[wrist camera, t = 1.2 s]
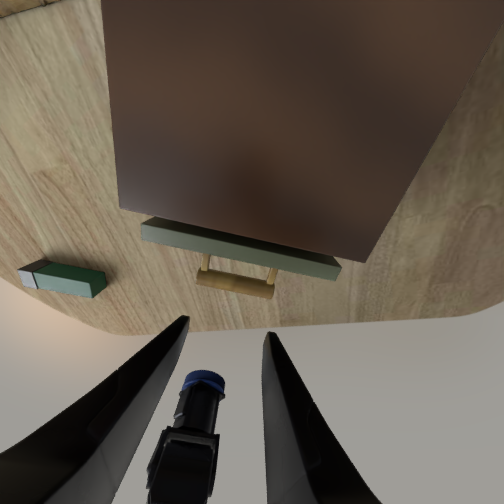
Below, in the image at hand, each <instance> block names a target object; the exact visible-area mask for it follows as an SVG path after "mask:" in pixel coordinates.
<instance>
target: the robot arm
mask: <svg viewBox="0 0 504 504" xmlns="http://www.w3.org/2000/svg"><path fill="white" fill-rule="evenodd" d="M189 322H190V317H189V316H185V315H182V316H180V317H179V318H178V319H177V320H175V321H174V322H173V323H172V324H171V325H169V326H168V327H167V328H166V329H165V330H163V331H162V332H161V333H160V334H159V335H157V336H156V337H155V338H154V339H153V340H151V341H150V342H149V343H148V344H147V345H145V347H143V348H142V349H141V350H140V351H138V352H137V353H136V354H135V355H134V356H132V357H131V358H130V359H129V360H128V361H126V362H125V363H124V364H123V365H122V366H120V367H119V368H118V370H116V371H114V372H113V373H112V374H111V375H110V376H108V377H107V378H106V379H105V380H104V381H102V382H101V383H100V384H99V385H97V386H96V387H95V388H93V389H92V390H91V391H89V392H88V393H87V394H85V395H84V396H83V397H81V398H80V399H79V400H77V401H76V402H75V403H73V404H72V405H70V406H69V407H68V408H66V409H65V410H64V411H62V412H61V413H59V414H58V415H57V416H55V417H54V418H53V419H51V420H50V421H48V422H47V423H45V424H44V425H43V426H41V427H40V428H39V429H37V430H36V431H34V432H33V433H32V434H30V435H29V436H28V437H26V438H25V439H23V440H22V441H20V442H18V443H17V444H15V445H14V446H12V447H10V448H9V449H7V450H5V451H4V452H2V453H0V504H111V503H112V501H113V499H114V497H115V493H116V492H117V490H118V488H119V486H120V484H121V482H122V479H123V477H124V475H125V473H126V471H127V469H128V467H129V465H130V462H131V460H132V458H133V456H134V454H135V451H136V450H137V447H138V445H139V443H140V441H141V439H142V437H143V435H144V433H145V430H146V428H147V426H148V424H149V422H150V420H151V418H152V415H153V413H154V411H155V409H156V407H157V405H158V403H159V401H160V398H161V396H162V394H163V392H164V390H165V388H166V385H167V383H168V381H169V379H170V377H171V375H172V372H173V371H174V368H175V366H176V364H177V362H178V359H179V356H180V353H181V350H182V347H183V345H184V342H185V339H186V336H187V333H188V330H189ZM179 395H180V399H179V402H178V405H177V408H176V411H175V414H174V419H175V422H174V425H173V427H171V426H167V428H166V429H165V430H162V433H161V436H160V439H159V441H158V444H157V446H156V448H155V451H154V453H153V455H152V458H151V460H150V462H149V464H148V467H147V473H148V479H147V480H148V482H147V486H146V489H150V490H149V494H148V498H147V502H146V504H207V499H208V497H211V495H212V491H213V487H214V481H215V475H216V467H217V458H218V448H219V438H220V434H214V430H215V424H216V418H217V412H218V406H219V401H220V400H222V399H224V398H225V394H224V393H222V392H220V391H219V390H217V389H215V388H214V387H212V386H210V385H209V384H207V383H205V382H204V381H202V380H199V381H197V382H195V383H194V384H192V385H190V386H189V387H187V388H185V389H184V390H182V391H180V393H179ZM262 396H263V398H262V399H263V420H264V440H265V463H266V484H267V504H382V503H381V502H380V501H379V500H378V498H377V497H376V496H375V495H374V494H373V492H372V491H371V490H370V488H369V487H368V486H367V484H366V483H365V481H364V480H363V478H362V477H361V475H360V474H359V472H358V471H357V469H356V468H355V466H354V465H353V463H352V462H351V461H350V459H349V458H348V456H347V454H346V453H345V451H344V450H343V448H342V447H341V445H340V444H339V442H338V441H337V439H336V438H335V436H334V434H333V433H332V431H331V430H330V428H329V427H328V425H327V423H326V421H325V420H324V418H323V416H322V414H321V413H320V411H319V409H318V407H317V406H316V404H315V402H313V399H312V397H311V395H310V393H309V391H308V390H307V388H306V386H305V384H304V382H303V381H302V379H301V377H300V375H299V374H298V372H297V370H296V368H295V367H294V365H293V363H292V361H291V359H290V357H289V356H288V354H287V352H286V350H285V349H284V347H283V345H282V343H281V342H280V340H279V338H278V336H277V334H276V333H275V332H270V331H269V332H268V333H267V335H266V337H265V340H264V344H263V359H262Z"/></svg>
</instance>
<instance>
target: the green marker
mask: <svg viewBox="0 0 504 504" xmlns="http://www.w3.org/2000/svg"><path fill="white" fill-rule="evenodd" d="M17 270H18V273H19V275H20V278H21V281H22V283H23V286H24V287H29V288H35V289H38V288H40V289H45V290H50V291H56V292H61V293H66V294H72V295H77V296H82V297H88V298H94V297H95V296H96V295H97V294H98V293H100V292H101V291H102V290H103V289H105V288H106V287H107V286H106V280H105V273H104V272H99V271H94V270H89V269H84V268H79V267H74V266H69V265H64V264H59V263H53V262H50V261H45V260H38V261H36V262H33V263H31V264H29V265H26V266H24V267H22V268H20V269H17Z"/></svg>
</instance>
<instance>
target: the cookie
mask: <svg viewBox="0 0 504 504" xmlns="http://www.w3.org/2000/svg"><path fill="white" fill-rule="evenodd" d="M53 1H59V0H0V17H3V16H7V15H9V14H11V13H15V12H17V13H19V12H20V11H22V10H27V9H30V8H34V7H37V6H40V5H42V6H46V5H47V4H48V3H51V2H53Z"/></svg>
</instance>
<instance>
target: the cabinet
mask: <svg viewBox="0 0 504 504" xmlns="http://www.w3.org/2000/svg"><path fill="white" fill-rule="evenodd" d="M101 9H102V20H103V31H104V42H105V53H106V64H107V75H108V86H109V97H110V108H111V119H112V130H113V141H114V152H115V163H116V174H117V185H118V196H119V207H120V208H121V209H125V210H129V211H134V212H138V213H143V214H147V215H152V216H156V217H160V218H165V219H169V220H174V221H178V222H183V223H187V224H192V225H196V226H201V227H205V228H210V229H214V230H219V231H223V232H227V233H232V234H236V235H241V236H245V237H250V238H254V239H259V240H263V241H268V242H272V243H277V244H281V245H286V246H290V247H294V248H299V249H303V250H308V251H312V252H317V253H321V254H326V255H330V256H335V257H339V258H344V259H348V260H353V261H357V262H362V263H365V262H366V261H367V259H368V257H369V255H370V254H371V252H372V250H373V248H374V247H375V245H376V243H377V241H378V240H379V238H380V236H381V234H382V233H383V231H384V229H385V227H386V226H387V224H388V222H389V220H390V219H391V217H392V215H393V213H394V212H395V210H396V208H397V206H398V205H399V203H400V201H401V199H402V198H403V196H404V194H405V193H406V191H407V189H408V187H409V186H410V184H411V182H412V180H413V179H414V177H415V175H416V173H417V172H418V170H419V168H420V166H421V165H422V163H423V161H424V159H425V158H426V156H427V154H428V152H429V151H430V149H431V147H432V145H433V144H434V142H435V140H436V138H437V137H438V135H439V133H440V131H441V130H442V128H443V126H444V125H445V123H446V121H447V119H448V118H449V116H450V114H451V112H452V111H453V109H454V107H455V105H456V104H457V102H458V100H459V98H460V97H461V95H462V93H463V91H464V90H465V88H466V86H467V84H468V83H469V81H470V79H471V77H472V76H473V74H474V72H475V70H476V69H477V67H478V65H479V63H480V62H481V60H482V58H483V57H484V55H485V53H486V51H487V50H488V48H489V46H490V44H491V43H492V41H493V39H494V37H495V36H496V34H497V32H498V30H499V29H500V27H501V25H502V23H503V22H504V0H101Z"/></svg>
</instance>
